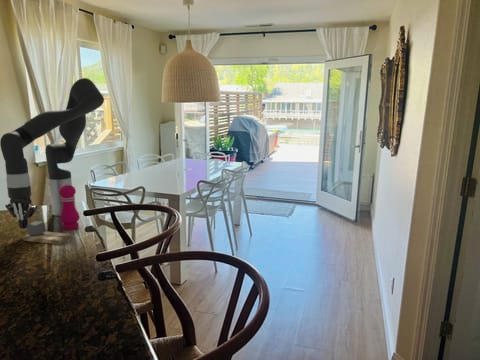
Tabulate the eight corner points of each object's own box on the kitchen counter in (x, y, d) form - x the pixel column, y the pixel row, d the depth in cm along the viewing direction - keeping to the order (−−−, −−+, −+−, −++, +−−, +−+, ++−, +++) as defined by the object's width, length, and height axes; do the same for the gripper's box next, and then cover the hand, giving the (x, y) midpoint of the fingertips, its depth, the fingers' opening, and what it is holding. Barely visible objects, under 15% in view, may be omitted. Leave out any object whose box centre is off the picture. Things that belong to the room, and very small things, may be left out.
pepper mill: (83, 225, 151) (79, 180, 147) (74, 231, 144) (70, 183, 140) (67, 224, 152) (63, 179, 147) (57, 230, 144) (52, 183, 140)
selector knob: (27, 234, 134) (26, 224, 133) (36, 230, 138) (35, 221, 137) (36, 235, 133) (35, 225, 132) (45, 231, 137) (44, 221, 137)
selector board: (23, 240, 133) (22, 236, 133) (37, 234, 140) (36, 230, 140) (60, 244, 130) (59, 240, 130) (72, 237, 137) (72, 233, 137)
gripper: (-5, 185, 131) (1, 229, 134) (25, 188, 128) (30, 233, 132) (12, 181, 138) (17, 223, 141) (41, 183, 135) (45, 226, 139)
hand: (23, 228), depth 137 cm, fingers closed
